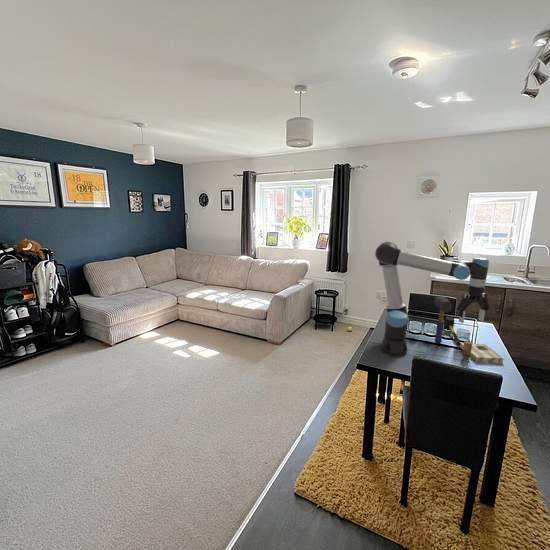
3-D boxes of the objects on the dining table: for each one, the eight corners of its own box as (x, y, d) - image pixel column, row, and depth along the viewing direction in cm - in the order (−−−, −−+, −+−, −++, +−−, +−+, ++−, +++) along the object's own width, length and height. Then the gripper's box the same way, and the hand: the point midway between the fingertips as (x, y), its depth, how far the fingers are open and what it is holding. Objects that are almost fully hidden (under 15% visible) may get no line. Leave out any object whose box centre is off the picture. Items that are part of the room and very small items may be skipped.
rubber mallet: (448, 347, 184) (454, 301, 178) (435, 347, 185) (441, 300, 179) (440, 339, 196) (446, 295, 190) (428, 338, 197) (433, 294, 191)
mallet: (464, 347, 186) (466, 332, 183) (453, 346, 187) (455, 331, 185) (451, 329, 213) (453, 316, 211) (442, 328, 215) (443, 315, 212)
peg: (463, 360, 169) (466, 344, 167) (459, 357, 173) (462, 341, 171) (471, 361, 168) (474, 344, 166) (467, 357, 173) (470, 341, 170)
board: (475, 362, 167) (476, 357, 167) (459, 347, 185) (460, 342, 184) (502, 363, 166) (503, 358, 165) (483, 348, 184) (484, 343, 183)
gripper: (463, 288, 161) (457, 325, 165) (501, 286, 166) (494, 322, 171) (452, 285, 168) (447, 320, 173) (489, 282, 173) (483, 317, 178)
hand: (470, 321), depth 172 cm, fingers open, 13 cm apart
